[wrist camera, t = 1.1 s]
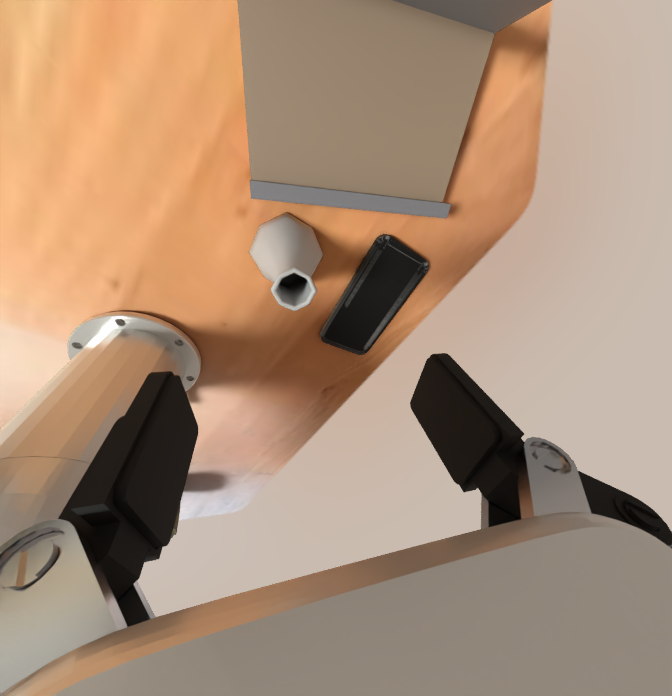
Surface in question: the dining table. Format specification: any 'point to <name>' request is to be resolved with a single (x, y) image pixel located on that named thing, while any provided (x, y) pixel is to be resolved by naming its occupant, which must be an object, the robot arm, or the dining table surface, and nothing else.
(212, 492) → the dining table surface
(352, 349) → the phone
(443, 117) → the wall shelf
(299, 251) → the flask
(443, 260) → the dining table surface
